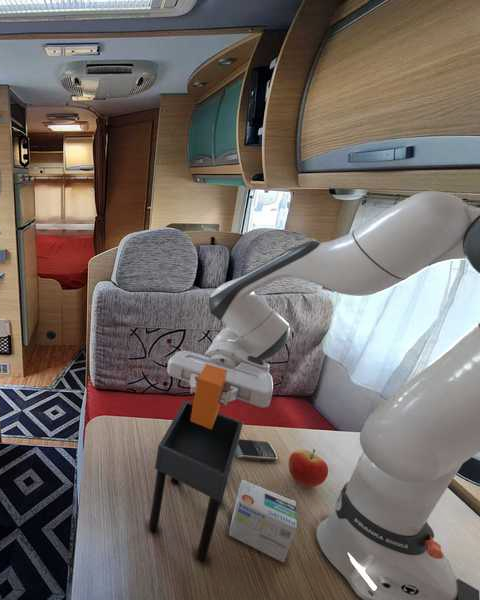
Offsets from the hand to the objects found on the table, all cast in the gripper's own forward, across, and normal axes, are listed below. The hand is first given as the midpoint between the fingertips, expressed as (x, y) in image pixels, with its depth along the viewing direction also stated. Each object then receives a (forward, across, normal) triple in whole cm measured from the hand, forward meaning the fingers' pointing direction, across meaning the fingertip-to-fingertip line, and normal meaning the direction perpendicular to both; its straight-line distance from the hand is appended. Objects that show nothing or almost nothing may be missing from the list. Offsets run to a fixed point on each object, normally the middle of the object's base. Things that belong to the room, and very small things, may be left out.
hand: (208, 396), depth 62 cm
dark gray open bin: (-1, 0, +15) cm, 15 cm away
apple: (-27, +22, +34) cm, 48 cm away
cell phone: (-30, +10, +34) cm, 46 cm away
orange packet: (-1, 0, +6) cm, 6 cm away
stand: (-1, 0, +33) cm, 33 cm away
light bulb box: (-5, +14, +34) cm, 37 cm away
